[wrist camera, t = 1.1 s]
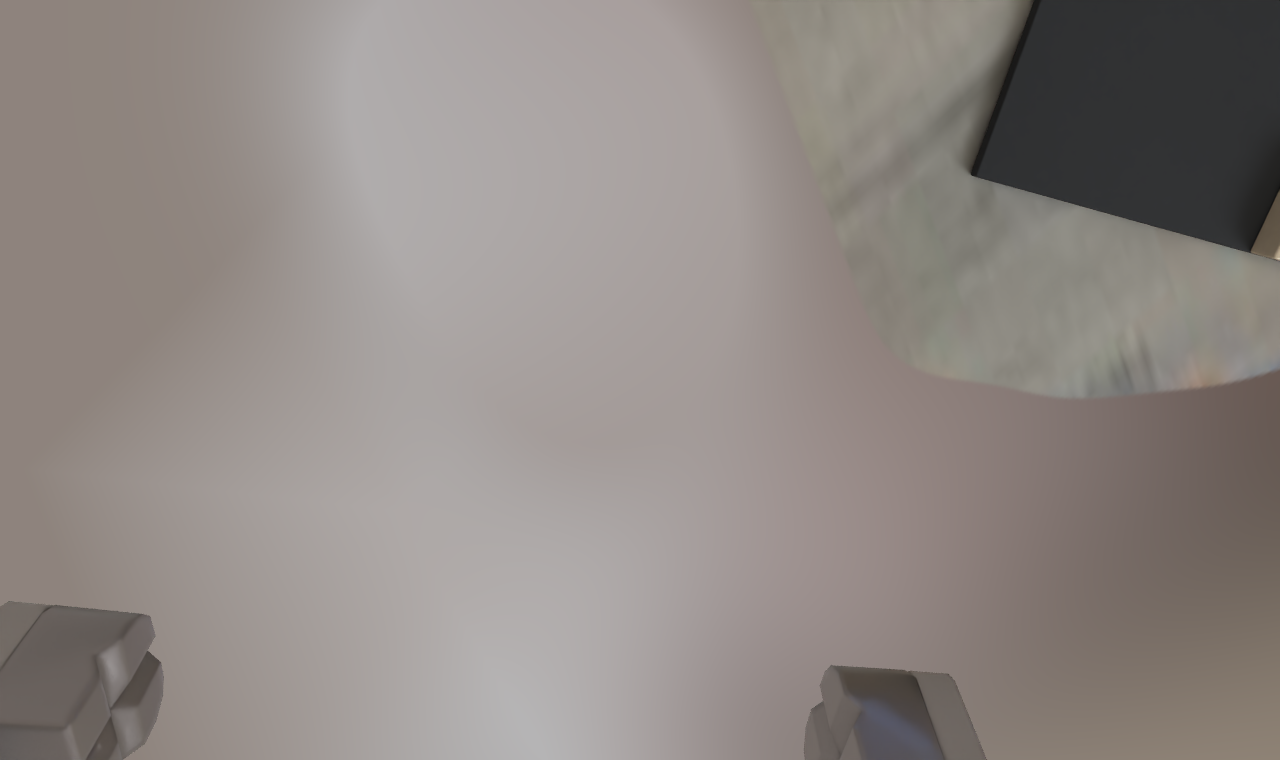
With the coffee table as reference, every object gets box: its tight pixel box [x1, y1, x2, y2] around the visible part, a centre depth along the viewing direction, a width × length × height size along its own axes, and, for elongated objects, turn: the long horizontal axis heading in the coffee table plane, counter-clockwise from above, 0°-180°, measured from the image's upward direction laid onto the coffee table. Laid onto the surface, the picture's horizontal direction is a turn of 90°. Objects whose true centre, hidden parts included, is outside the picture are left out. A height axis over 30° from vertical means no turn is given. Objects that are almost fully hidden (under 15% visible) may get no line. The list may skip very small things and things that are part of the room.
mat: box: [971, 0, 1280, 260], centre depth 37 cm, size 16×17×1 cm
